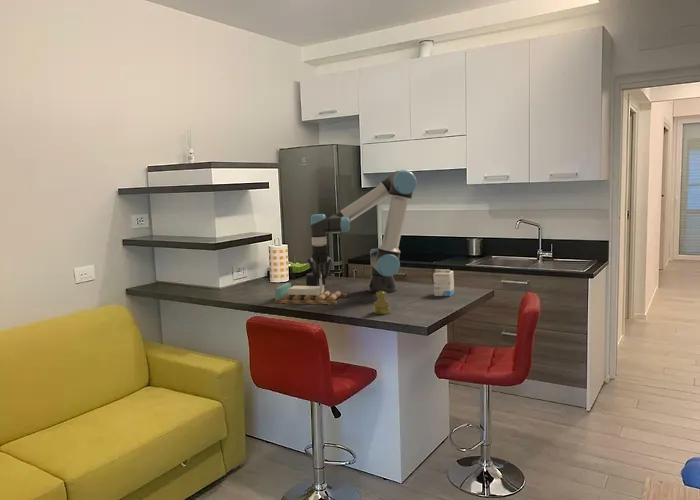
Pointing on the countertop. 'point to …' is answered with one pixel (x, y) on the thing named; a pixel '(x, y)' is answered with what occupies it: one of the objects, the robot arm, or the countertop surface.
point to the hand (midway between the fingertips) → (322, 291)
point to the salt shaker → (381, 304)
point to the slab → (304, 290)
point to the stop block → (282, 291)
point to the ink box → (443, 282)
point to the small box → (311, 280)
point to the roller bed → (309, 298)
